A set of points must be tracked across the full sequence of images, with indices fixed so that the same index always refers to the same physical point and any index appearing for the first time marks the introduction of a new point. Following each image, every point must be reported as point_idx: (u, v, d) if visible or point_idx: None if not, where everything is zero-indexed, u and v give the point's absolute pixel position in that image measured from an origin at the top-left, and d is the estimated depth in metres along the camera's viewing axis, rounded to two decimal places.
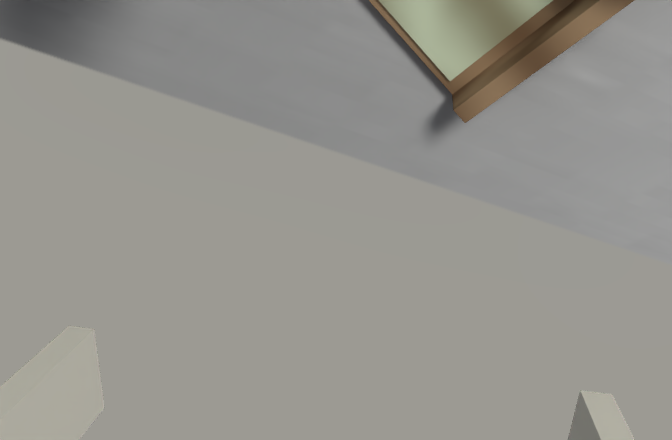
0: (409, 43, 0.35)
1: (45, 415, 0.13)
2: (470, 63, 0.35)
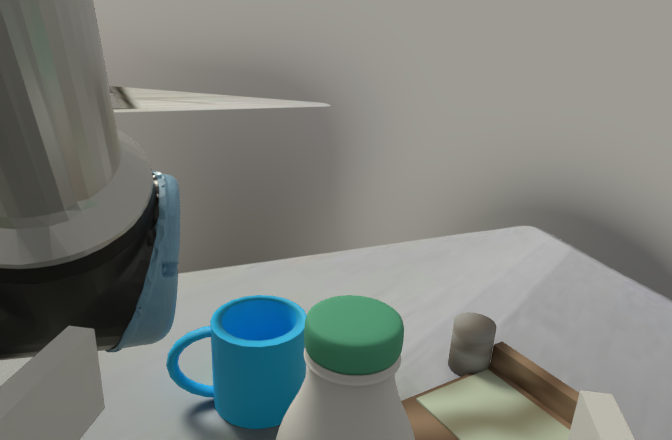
0: None
1: (45, 415, 0.13)
2: (568, 429, 0.46)
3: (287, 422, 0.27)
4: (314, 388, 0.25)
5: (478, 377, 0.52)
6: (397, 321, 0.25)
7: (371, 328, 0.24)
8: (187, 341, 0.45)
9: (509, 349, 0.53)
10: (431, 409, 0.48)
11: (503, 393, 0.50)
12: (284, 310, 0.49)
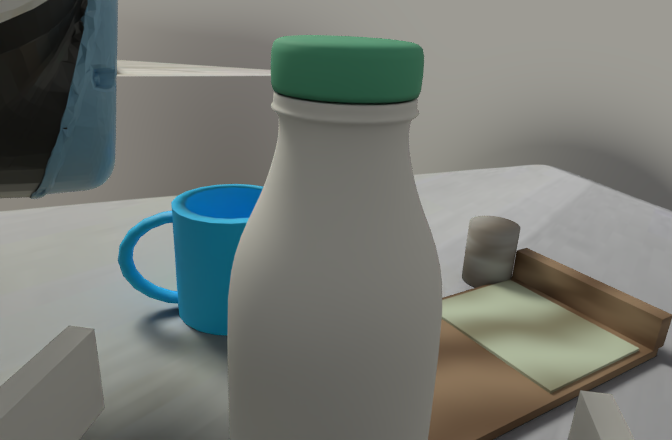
0: (611, 370, 0.34)
1: (45, 415, 0.13)
2: (614, 335, 0.37)
3: (249, 222, 0.18)
4: (287, 148, 0.16)
5: (499, 286, 0.43)
6: (414, 43, 0.16)
7: (374, 41, 0.15)
8: (142, 228, 0.37)
9: (535, 254, 0.44)
10: (445, 315, 0.39)
11: (531, 301, 0.41)
12: None
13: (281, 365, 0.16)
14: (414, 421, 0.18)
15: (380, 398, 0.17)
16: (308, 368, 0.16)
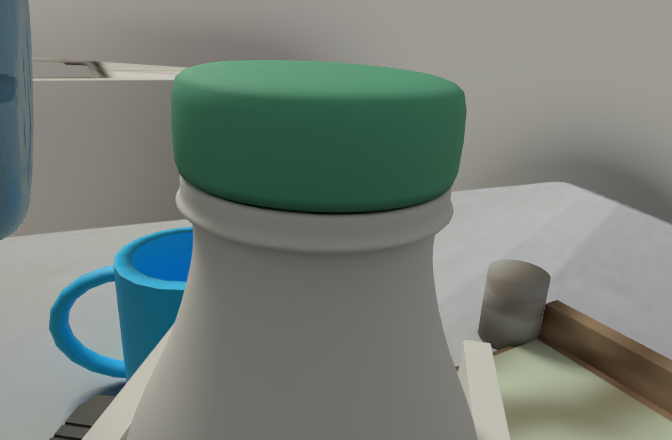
0: None
1: None
2: None
3: (146, 387, 0.10)
4: (201, 279, 0.08)
5: (525, 350, 0.35)
6: (447, 81, 0.08)
7: (370, 79, 0.08)
8: (78, 288, 0.29)
9: (569, 310, 0.36)
10: None
11: (565, 372, 0.33)
12: None
13: None
14: None
15: None
16: None
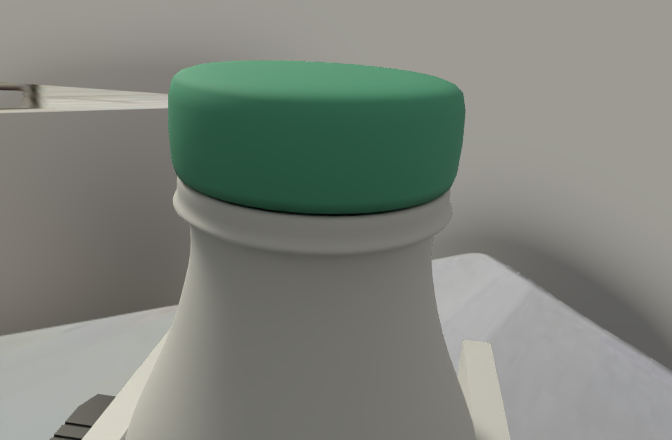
0: None
1: None
2: None
3: (144, 389, 0.10)
4: (199, 281, 0.08)
5: None
6: (446, 82, 0.08)
7: (368, 80, 0.08)
8: None
9: None
10: None
11: None
12: None
13: None
14: None
15: None
16: None
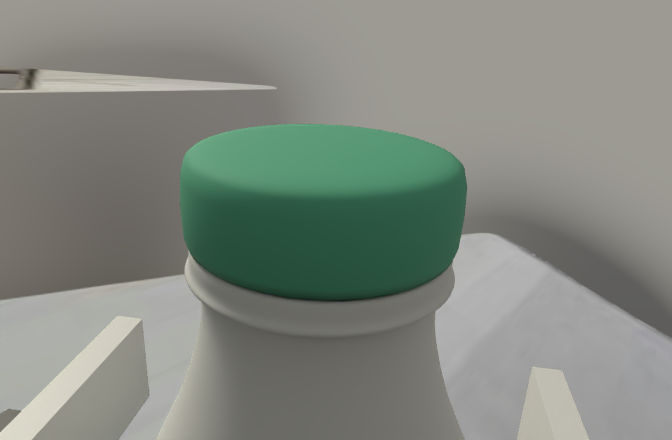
0: None
1: (101, 400, 0.14)
2: None
3: None
4: (210, 350, 0.09)
5: None
6: (448, 158, 0.09)
7: (373, 163, 0.08)
8: None
9: None
10: None
11: None
12: None
13: None
14: None
15: None
16: None
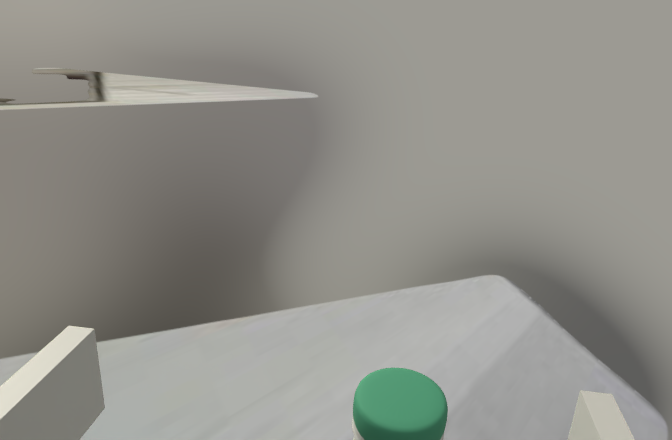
0: None
1: (45, 415, 0.13)
2: None
3: None
4: None
5: None
6: (441, 402, 0.26)
7: (417, 410, 0.26)
8: None
9: None
10: None
11: None
12: None
13: None
14: None
15: None
16: None
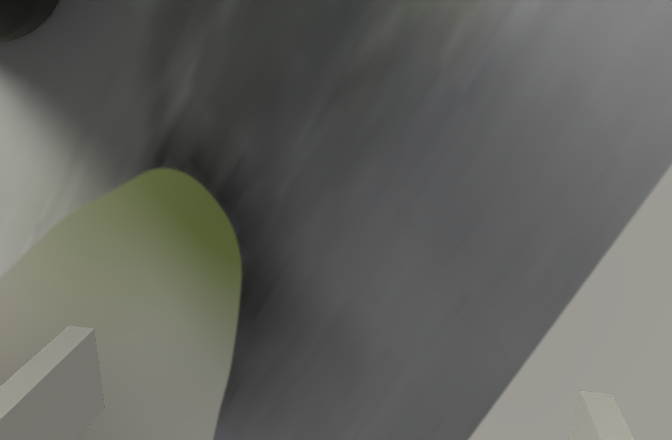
0: None
1: (45, 415, 0.13)
2: None
3: None
4: None
5: None
6: None
7: None
8: None
9: None
10: None
11: None
12: None
13: None
14: None
15: None
16: None
